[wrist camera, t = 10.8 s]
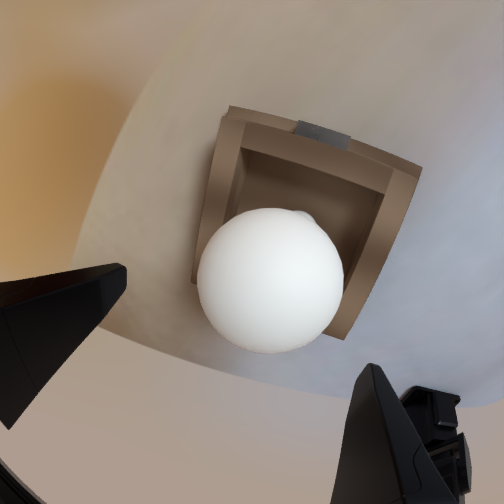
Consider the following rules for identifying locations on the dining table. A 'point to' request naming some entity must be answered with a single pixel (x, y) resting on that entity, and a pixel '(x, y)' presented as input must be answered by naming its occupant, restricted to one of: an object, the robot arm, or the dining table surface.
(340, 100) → the dining table surface
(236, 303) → the lightbulb
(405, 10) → the dining table surface
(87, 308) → the robot arm
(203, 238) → the bulb holder
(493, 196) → the dining table surface
